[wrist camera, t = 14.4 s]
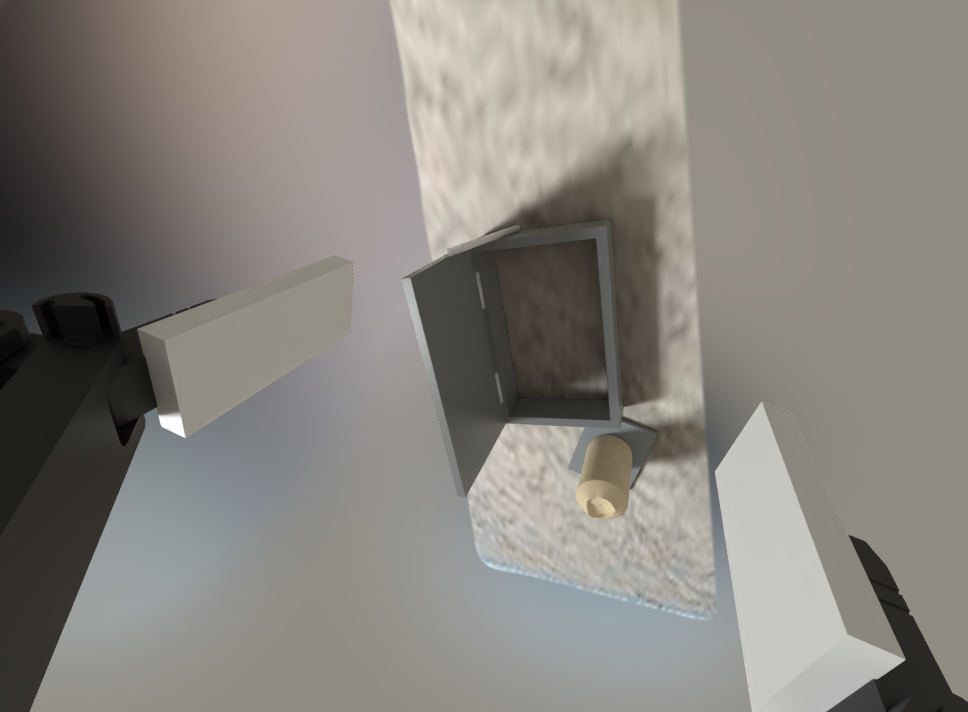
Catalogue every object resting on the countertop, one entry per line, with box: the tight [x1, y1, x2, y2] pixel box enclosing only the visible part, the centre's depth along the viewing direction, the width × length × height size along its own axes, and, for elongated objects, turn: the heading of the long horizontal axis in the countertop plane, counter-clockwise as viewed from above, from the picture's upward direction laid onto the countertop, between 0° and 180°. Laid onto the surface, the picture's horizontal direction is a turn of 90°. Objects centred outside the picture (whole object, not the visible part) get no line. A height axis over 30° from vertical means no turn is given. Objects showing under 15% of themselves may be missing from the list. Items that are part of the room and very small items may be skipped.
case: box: [402, 218, 624, 497], centre depth 43 cm, size 23×14×18 cm, turn 11°
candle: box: [576, 435, 632, 519], centre depth 50 cm, size 6×6×10 cm
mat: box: [568, 419, 658, 489], centre depth 55 cm, size 10×8×1 cm
